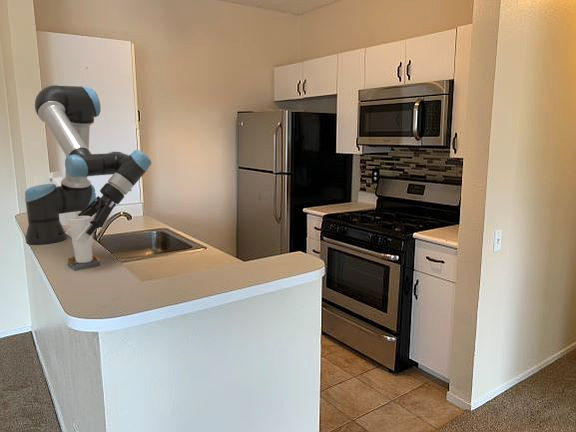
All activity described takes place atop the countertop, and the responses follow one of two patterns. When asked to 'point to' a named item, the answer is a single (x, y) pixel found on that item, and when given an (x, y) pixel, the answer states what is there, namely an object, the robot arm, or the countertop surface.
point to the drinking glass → (81, 251)
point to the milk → (56, 180)
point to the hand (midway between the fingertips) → (74, 238)
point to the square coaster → (78, 266)
